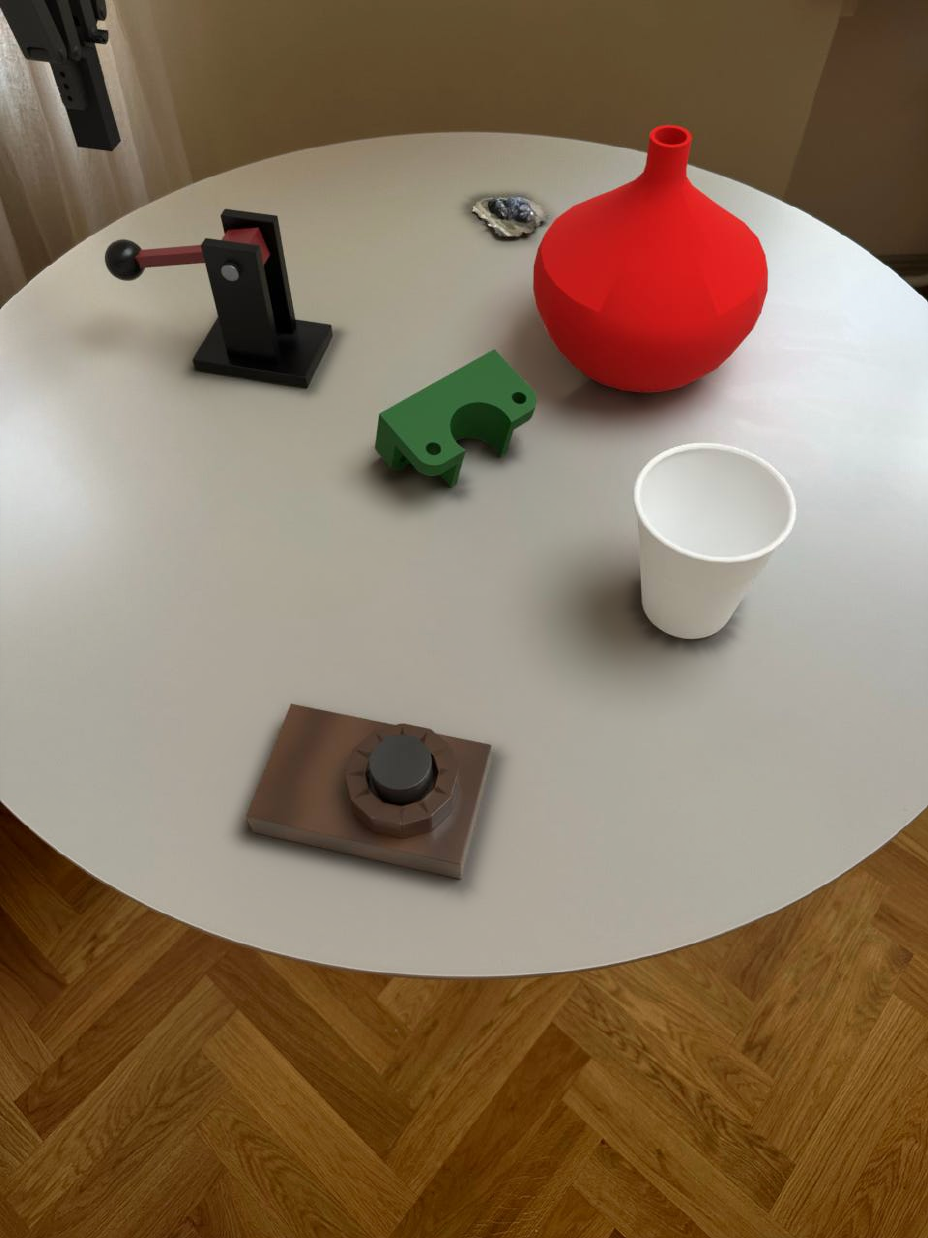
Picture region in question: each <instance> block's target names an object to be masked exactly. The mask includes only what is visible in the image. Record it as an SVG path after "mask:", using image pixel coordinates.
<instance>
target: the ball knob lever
mask: <svg viewBox="0 0 928 1238" xmlns="http://www.w3.org/2000/svg"><path fill="white" fill-rule="evenodd" d="M221 240H225V241H232V242H239V243H246V244H253V245H260V250H261V255H262V260H263V265H264V264H265V262H266V261H267V259H268V257H269V255H270V253H269V251H268V249H267V246H266V244H265V242H264V239H263V237H262V234H261V232H260V230H259V228H248V229H236V230H227V232H226V233H225V234H224V235H223V236H222V238H221ZM104 264H105V266H106V269H107V270H108V272H109V273H110V274H111V276H113V277H114V278H116V279H117V280H121V281H122V282H123V281H125V282H132V281H135V280H137V279H138V278H140V277H141V276H142V275H143V273H144V272H145V270H146V269H147V268H158V267H171V266H184V265H198V264H205V261H204V257H203V253H202V249H201V244H194V245H193V244H192V245H183V246H171V247H170V246H169V247H159V248H145V249H143V248H141V246H139V244H138V243H136V242H135V241H132V240H131V239H125V238H122V239H117V240H114V241H113V242H111V243H110V244H109V245H108V246H107V248H106V250H105V252H104Z"/></svg>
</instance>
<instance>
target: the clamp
mask: <svg viewBox="0 0 928 1238" xmlns="http://www.w3.org/2000/svg"><path fill="white" fill-rule="evenodd" d="M537 404H538V396H537V394H536V392H535V390H534V389H533V388H532V387H531V386H530V385H529V384H528V383H527V382H526V381H525V379H524V378H522V376H520V374H519V373H518V372H517V371H516V370H515V369H514V368H513V367H512V366H511V365H510V363H508V361H506V359H505V358H504V357H503V356H502V355H501V354H500V353H499V352H498V351H497V350H496V348H493V349H492V350H490V351H488V352H486V353H484V354H482V355H481V356H479V357H477V358H476V359H473V360H472V361H470V362H468V363H466V364H465V365H463V366H462V367H459V368H458V369H456V370H454V371H452V372H451V373H449V374H447V375H445V376H443V377H442V378H440V379H438V380H436V381H435V382H433V383H431V384H429V385H427V386H426V387H424V388H422V389H420V390H418V391H417V392H415V393H413V394H412V395H410V396H408V397H406V398H404V399H403V400H401V401H399V402H398V403H395V404H394V405H392V406H391V407H388V408H387V409H385V410H383V411H382V412H379V413H378V419H377V420H378V421H377V428H376V435H375V442H374V443H375V444H374V449H375V451H376V452H377V453H378V455H379V456H380V457H381V458H382V460H384V462H385V463H386V464H387V465H388V466H389V467H390V469H391V470H393V471H399V470H402V469H403V468H405V467H407V466H409V465H412V466H413V467H414V469H415V470H416V471H417V472H419V474H422V475H424V476H427V477H436V476H440V477H441V478H442V479H443V480H444V481H445V482H446V484H447V485H448V486H449V488H453V487H454V486H456V485H458V481H459V477H460V473H461V469H462V465H463V461H464V458H465V455H466V449H465V448H463V447H462V446H461V445H460V444H458V442H457V441H458V440H459V441H460V440H462V439H477V440H480V441H483V442H485V443H487V444H488V445H490V446H491V447H492V448H493V449H494V450H495V451H496V453H498V455H499V457H500V458H502V457H503V456H505V455H507V451H508V449H509V445H510V442H511V440H512V436H513V433H514V430H516V429H518V428H519V427H521V426H523V425H524V424H526V423H528V422H529V421H530V420H531V419H532V417H533V416H534V413H535V409H536V407H537Z"/></svg>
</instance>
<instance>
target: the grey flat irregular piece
mask: <svg viewBox="0 0 928 1238" xmlns="http://www.w3.org/2000/svg"><path fill="white" fill-rule="evenodd" d="M471 211H472V212H475V213H476V214H477V216H478V218H479V217H480V218H481V220H483V221H485V220H487V225H488V226H489V227H492V228H493V231H494V234H497V235H498V236H499V237H505V238H508V237H510V238H511V237H521V236H522V235H523V233H524V234H531V233H532V232H533V231H534V230H535V227H537V228H540V225H541V222H544V221H547V220H548V219H551V218H550V215H549V214H547V211H546V210H545V209H544V207H542V205H540V204H537V202H533V201H532V200H531V199H528V198H524V197H520V196H519V197H518V196H507V197H504V198H503V197H486V198H485V197H484V198H482V199H479V201H477V202H475V205H473V206H472V210H471Z"/></svg>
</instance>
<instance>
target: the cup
mask: <svg viewBox="0 0 928 1238" xmlns="http://www.w3.org/2000/svg"><path fill="white" fill-rule="evenodd" d="M632 504H633V508H634V511H635V514H636V517H637V535H638V551H639V568H640V569H639V571H640V590H641V592H640V593H641V606H642V608H643V611H644V613H645V615H646V617H647V618H648V620H649V621H650V623H652V624H653V625H654V626H655V627H656V628H658V629H659V630H660V631H662V632H664V633H666V635H667V634H668V635H670V636H673V637H675V638H681V639H687V640H695V639H696V640H697V639H704V638H707V637H710V636H713V635H714V634H716V633H718V632H719V631H720V630H722V629H723V628H724V627H725V626H726V625H727V623H728V621H729V620H730V619H731V617H732V616H733V614H734V613H735V612H736V610H737V608H738V607H739V605H740V603H741V601H742V600H743V599H744V597H745V595H746V594H747V593H748V592H749V590H750V589H751V587H752V585H753V584H754V582H755V581H756V579H757V577H758V576H759V575H760V573H761V572H762V570H763V568H764V567H765V566H766V565H767V563H768V562H769V560H770V558H771V557H772V556H773V554H774V553H775V551H776V549H778V548H779V547H780V546H781V545H783V544H784V542H785V541H786V540H787V539H788V537H789V536H790V535H791V533H792V531H793V528H794V526H795V523H796V519H797V503H796V497H795V495H794V493H793V491H792V488H791V486H790V484H789V483H788V481H787V480H786V478H785V477H784V476H783V475H782V474H781V472H779V471H778V470H777V469H776V468H775V467H774V465H772V464H771V463H769V462H768V461H766V459H764V458H762V457H760V456H759V455H757V454H754V453H752V452H750V451H748V450H746V449H742V448H740V447H737V446H734V445H729V444H724V443H717V442H694V443H693V442H692V443H685V444H682V445H677V446H674V447H671V448H669V449H666V450H664V451H662V452H660V453H658V454H657V455H655V456H654V457H653V458H651V459H650V460H649V461H647V463H646V464H644V466H643V467H642V468H641V469H640V471H639V473H638V475H637V477H636V479H635V480H634V486H633V489H632Z"/></svg>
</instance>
